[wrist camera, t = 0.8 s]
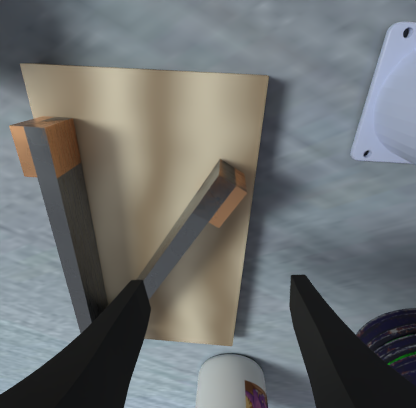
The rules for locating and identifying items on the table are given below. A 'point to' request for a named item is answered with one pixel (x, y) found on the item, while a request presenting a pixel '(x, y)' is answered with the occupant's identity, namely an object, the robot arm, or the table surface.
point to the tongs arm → (196, 221)
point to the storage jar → (394, 340)
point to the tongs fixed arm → (65, 207)
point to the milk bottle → (231, 383)
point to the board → (161, 178)
